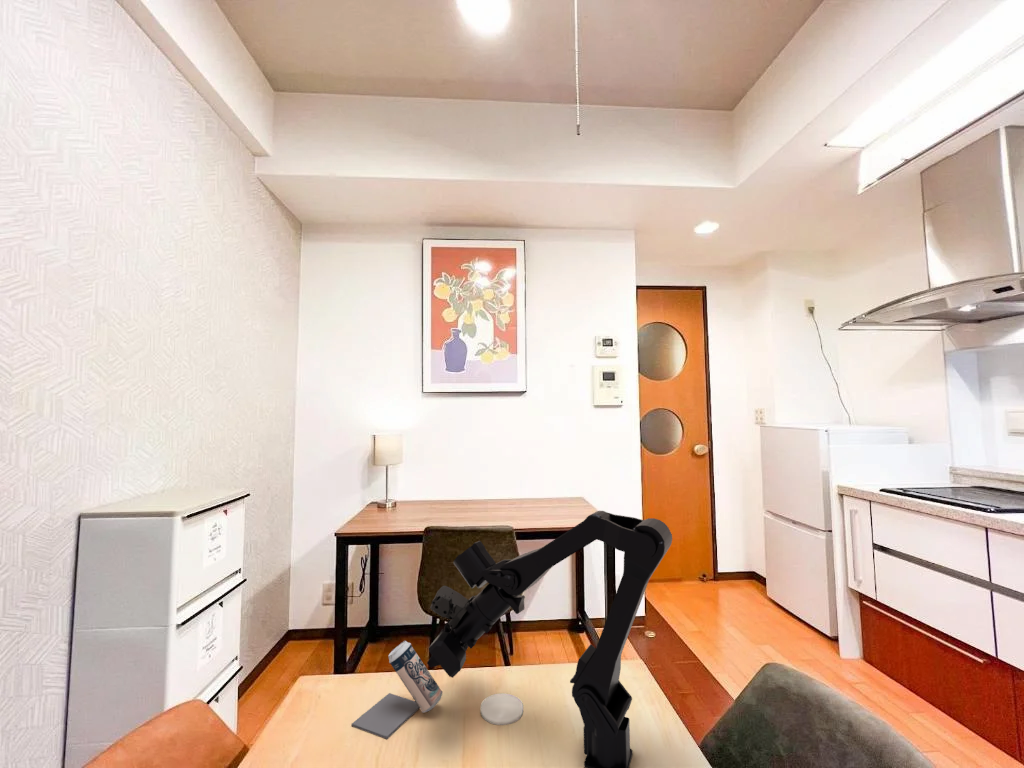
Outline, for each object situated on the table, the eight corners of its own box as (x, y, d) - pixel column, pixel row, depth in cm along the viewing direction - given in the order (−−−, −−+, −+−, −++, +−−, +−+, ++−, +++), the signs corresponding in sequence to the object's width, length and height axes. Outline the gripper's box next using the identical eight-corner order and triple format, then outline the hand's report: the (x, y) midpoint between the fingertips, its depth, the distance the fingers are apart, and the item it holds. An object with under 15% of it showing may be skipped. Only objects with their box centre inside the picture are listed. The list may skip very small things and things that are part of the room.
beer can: (438, 705, 81) (400, 648, 83) (419, 719, 81) (381, 662, 83) (447, 688, 85) (411, 634, 87) (428, 702, 86) (393, 648, 88)
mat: (422, 705, 85) (422, 703, 85) (387, 739, 76) (387, 736, 76) (389, 695, 88) (389, 693, 89) (351, 726, 79) (351, 723, 80)
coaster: (529, 704, 86) (529, 699, 86) (512, 730, 78) (512, 725, 78) (492, 693, 89) (492, 689, 89) (472, 717, 82) (472, 712, 82)
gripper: (470, 560, 94) (419, 610, 95) (441, 593, 76) (378, 655, 77) (507, 601, 92) (454, 652, 93) (486, 645, 74) (421, 709, 75)
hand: (429, 664), depth 84 cm, fingers closed
